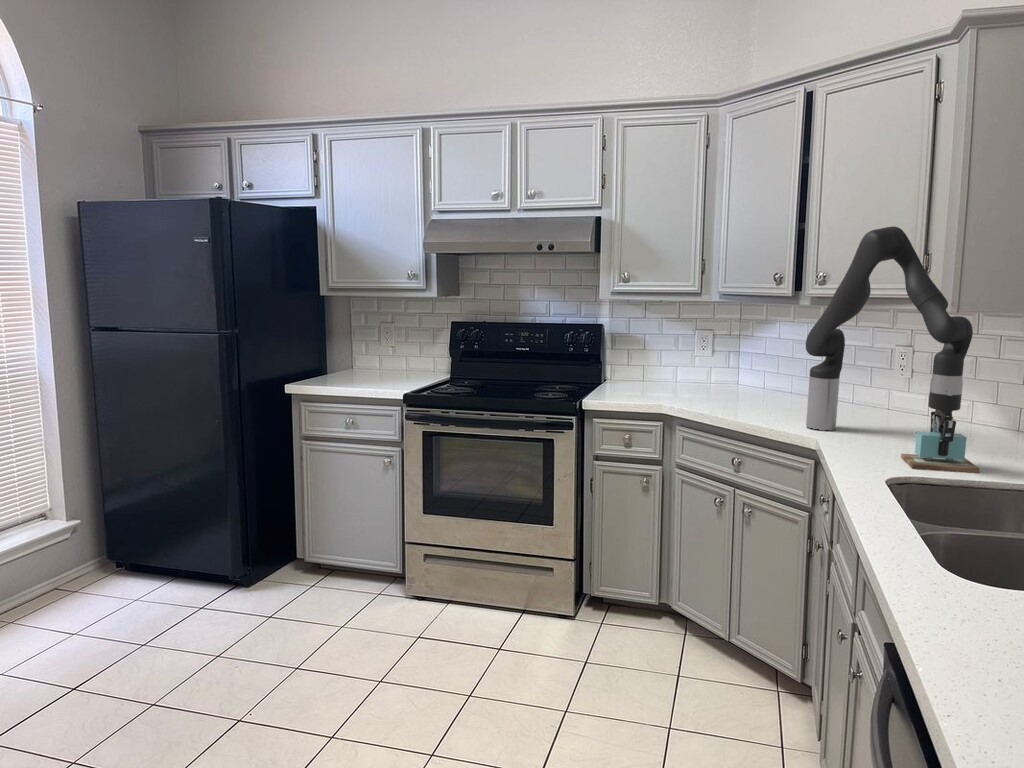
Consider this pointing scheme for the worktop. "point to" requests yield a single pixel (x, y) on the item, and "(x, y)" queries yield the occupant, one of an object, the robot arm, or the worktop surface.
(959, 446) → the block
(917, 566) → the worktop surface
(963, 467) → the stub base
